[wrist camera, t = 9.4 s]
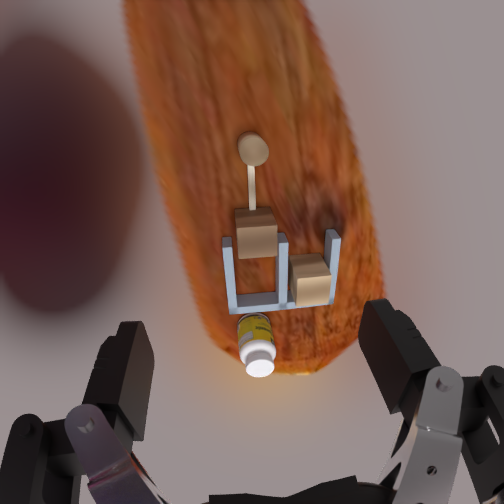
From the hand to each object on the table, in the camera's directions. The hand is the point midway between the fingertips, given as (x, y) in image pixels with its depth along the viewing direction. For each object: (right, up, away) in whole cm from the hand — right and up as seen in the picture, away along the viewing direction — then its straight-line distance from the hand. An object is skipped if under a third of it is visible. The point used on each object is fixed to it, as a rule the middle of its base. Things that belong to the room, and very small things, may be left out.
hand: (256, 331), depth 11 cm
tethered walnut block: (0, +11, +28) cm, 30 cm away
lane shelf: (+4, +1, +34) cm, 35 cm away
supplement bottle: (0, -9, +40) cm, 41 cm away
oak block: (+7, 0, +35) cm, 36 cm away
